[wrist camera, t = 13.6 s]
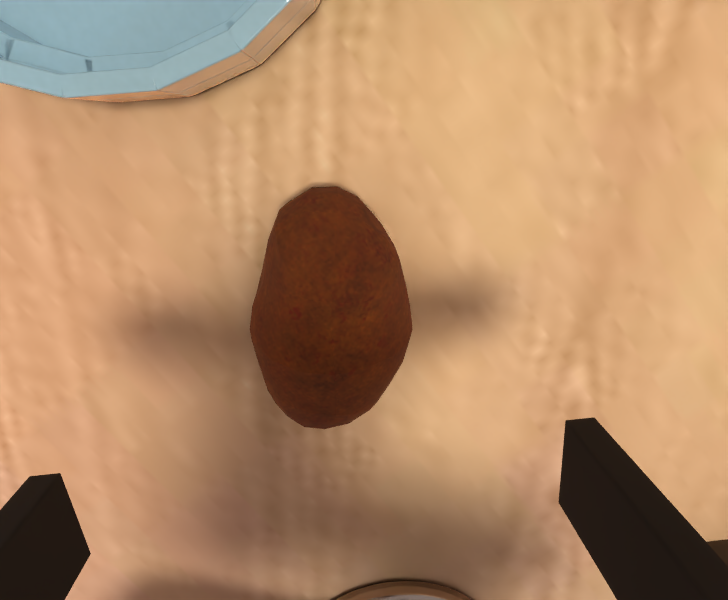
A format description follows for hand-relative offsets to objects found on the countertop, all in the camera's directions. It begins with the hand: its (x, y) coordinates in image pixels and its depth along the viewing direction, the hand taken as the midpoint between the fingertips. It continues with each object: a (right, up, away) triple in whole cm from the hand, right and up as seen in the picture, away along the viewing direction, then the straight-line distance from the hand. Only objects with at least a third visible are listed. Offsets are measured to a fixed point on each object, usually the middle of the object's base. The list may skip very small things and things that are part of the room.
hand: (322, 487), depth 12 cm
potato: (-1, +6, +13) cm, 15 cm away
